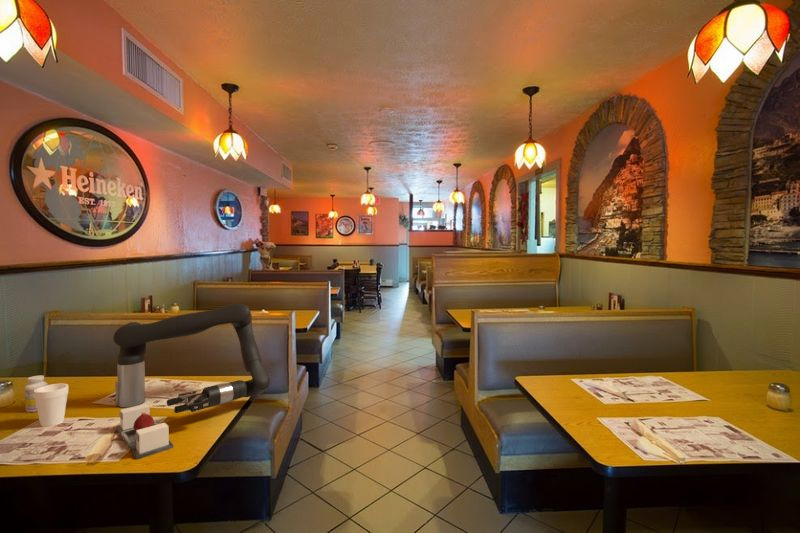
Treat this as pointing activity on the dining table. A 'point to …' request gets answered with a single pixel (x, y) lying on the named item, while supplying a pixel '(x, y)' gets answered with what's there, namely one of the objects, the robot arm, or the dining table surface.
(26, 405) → the supplement bottle
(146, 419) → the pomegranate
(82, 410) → the dining table surface
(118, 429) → the mounting plate
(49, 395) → the foam cup
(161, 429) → the mounted modules
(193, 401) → the robot arm
